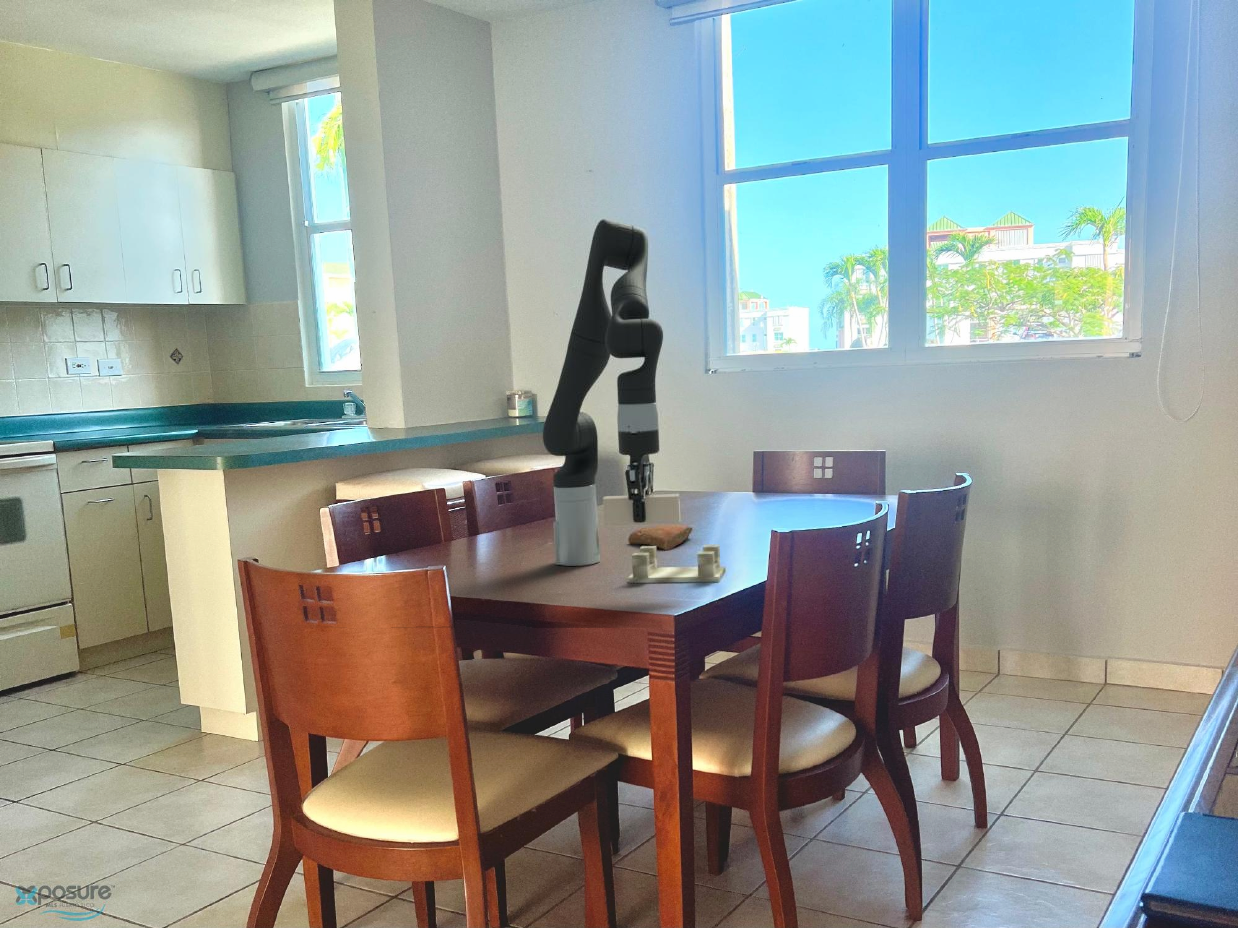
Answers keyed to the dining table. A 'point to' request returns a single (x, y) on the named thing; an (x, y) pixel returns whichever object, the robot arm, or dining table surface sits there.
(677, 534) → the ceramic shard
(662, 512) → the clay bar
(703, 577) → the rack
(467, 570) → the dining table surface
